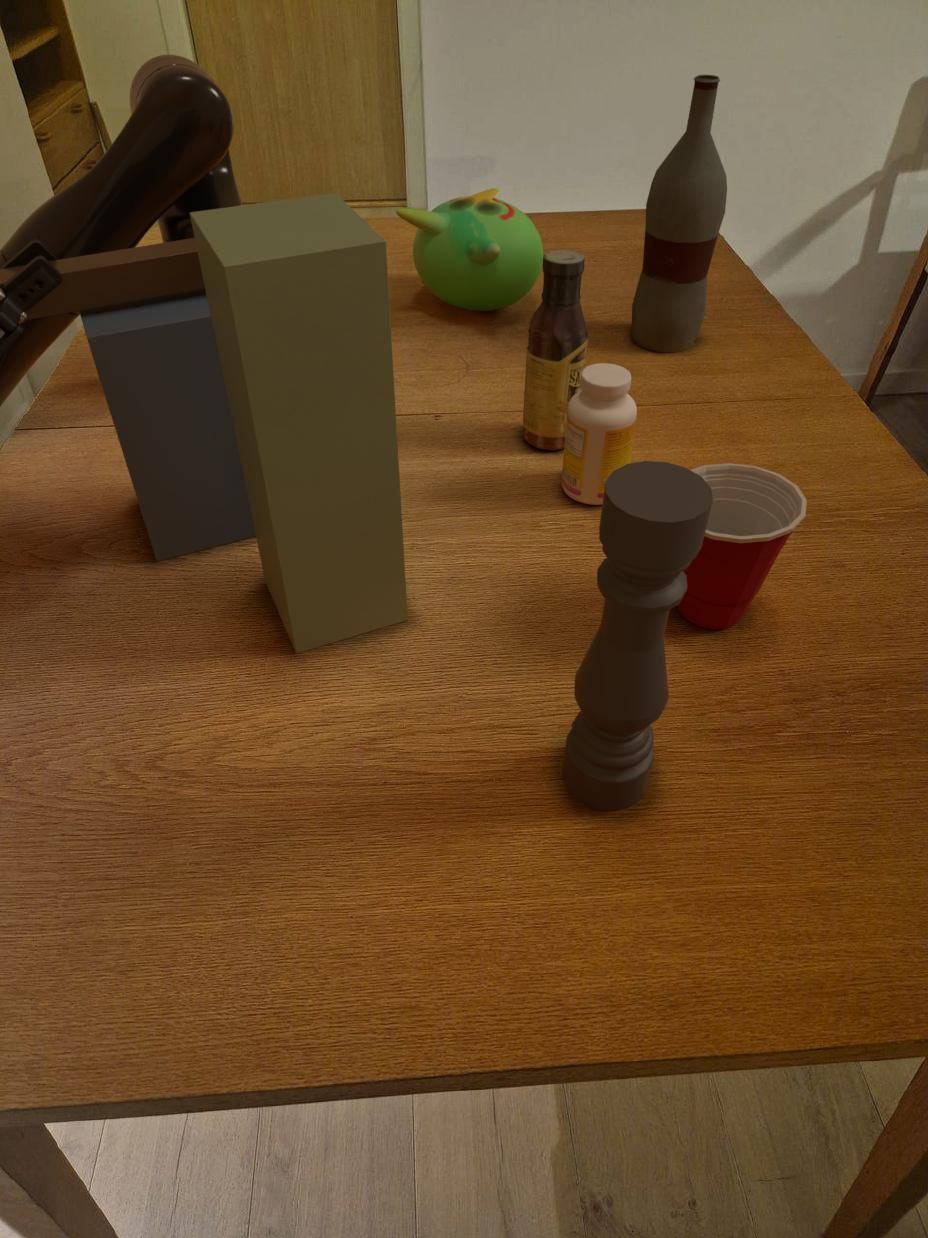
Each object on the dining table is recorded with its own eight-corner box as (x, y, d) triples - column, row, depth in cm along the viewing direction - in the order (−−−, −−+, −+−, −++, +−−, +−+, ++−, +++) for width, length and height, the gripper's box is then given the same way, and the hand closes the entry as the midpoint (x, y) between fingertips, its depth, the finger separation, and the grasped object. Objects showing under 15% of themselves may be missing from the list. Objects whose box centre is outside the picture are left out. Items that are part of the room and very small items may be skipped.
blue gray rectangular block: (156, 561, 81) (86, 337, 65) (139, 504, 87) (72, 288, 72) (262, 534, 84) (218, 314, 68) (237, 481, 90) (192, 269, 75)
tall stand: (296, 653, 72) (223, 266, 50) (265, 582, 78) (189, 212, 57) (408, 620, 75) (386, 240, 53) (369, 553, 81) (335, 192, 60)
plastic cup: (670, 553, 82) (693, 443, 73) (784, 592, 78) (822, 480, 69) (625, 622, 75) (645, 509, 67) (748, 668, 71) (786, 553, 63)
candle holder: (555, 744, 65) (589, 460, 48) (636, 739, 65) (699, 455, 48) (569, 814, 60) (613, 528, 43) (656, 808, 61) (733, 522, 44)
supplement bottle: (630, 477, 91) (649, 364, 82) (617, 513, 86) (635, 396, 77) (568, 466, 92) (580, 353, 84) (553, 500, 88) (563, 384, 79)
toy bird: (559, 298, 124) (567, 188, 114) (499, 343, 113) (502, 226, 103) (454, 271, 131) (453, 166, 121) (388, 311, 120) (381, 200, 110)
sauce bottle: (574, 456, 94) (593, 272, 80) (517, 449, 95) (527, 267, 81) (580, 425, 98) (599, 247, 85) (526, 419, 99) (536, 242, 86)
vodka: (690, 323, 118) (739, 67, 97) (706, 354, 111) (761, 86, 91) (622, 324, 118) (656, 67, 97) (634, 355, 111) (673, 87, 90)
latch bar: (-10, 326, 65) (-26, 287, 63) (-12, 311, 67) (-27, 273, 65) (296, 271, 72) (291, 235, 70) (286, 259, 74) (281, 223, 72)
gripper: (-74, 392, 74) (78, 264, 73) (-74, 476, 65) (100, 332, 64) (-160, 327, 69) (3, 187, 67) (-173, 409, 59) (15, 249, 58)
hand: (49, 258), depth 66 cm, fingers closed on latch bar, 3 cm apart
